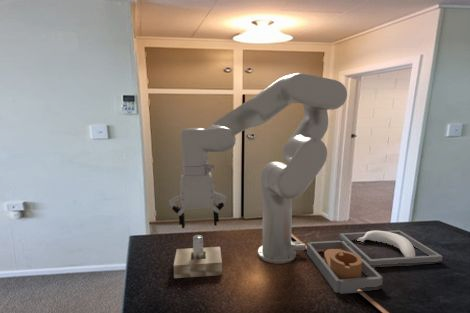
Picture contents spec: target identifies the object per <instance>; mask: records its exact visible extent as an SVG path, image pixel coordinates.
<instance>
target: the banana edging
mask: <svg viewBox="0 0 470 313" xmlns="http://www.w3.org/2000/svg"><path fill="white" fill-rule="evenodd" d="M385 231H386V232H391V233H395V234H398V235H401V236H403V237H405V238H406V239H408V240H409V241H410V242H411V244H412V245H413V246H414V247H416V248H418V249H420V250H421V251H423V252H424V253H426V254H428V255H429V256H426V255H418V256H417V255H415V256H414V257H405V256H401V257H386V258H385V257H384V258H371V257H370V256H368V254H366V253H365V252H364V251H363V250H361V248H359V247H358V246H357V245H356V244H355V243H353V241H352V240H349V239H348V238H361V237H363V236H364V235H365V234H366V233H367V232H368V231H363V232H362V231H361V232H346V233H344V232H342V233H339V234H338V235H339V236H338V238H339V237H340V238H341V239H342V240H343V241H344V242H345V243H346V244H348V245H349V246H350V247H351V248H352V249H353V250H354V251H355V252H356V253H357V254H358V255H359V256H360V257H362V258H363V259H364V260H365V261H366V262H367V263H368V264H369V265H382V264H398V263H418V262H438V261H442V262H443V256H442V255H441V254H439V253H438V252H436V251H435V250H433V249H432V248H429V247H428V246H426V245H424V244H423V243H422V242H420V241H418V240H417V239H415V238H413V237H412V236H410V235H409V234H407V233H405V232H403V231H401V230H397V229H396V230H385Z"/></svg>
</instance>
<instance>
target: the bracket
mask: <svg viewBox="0 0 470 313" xmlns="http://www.w3.org/2000/svg"><path fill="white" fill-rule="evenodd" d="M324 259H325V262H326V264H327V265H328V266H329V267H330V269H331V270H332V271H333V272H334V274H335V275H336V276H337V277H338V279H352V278H362V272H361V270H362V259H361V257H359V256H358V255H356V254H354V253H352V252H348V251H344V250H341V249H327V250H326V251H325V252H323V260H324Z"/></svg>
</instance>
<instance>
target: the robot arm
mask: <svg viewBox="0 0 470 313" xmlns="http://www.w3.org/2000/svg"><path fill="white" fill-rule="evenodd" d="M347 97H348V90H347V87H346V86H345V85H344V84H343V83H342V82H341V81H339V80H336V79H331V78H328V77H322V76H317V75H313V74H309V73H303V72H296V73H291V74H288V75H284V76H282V77H279V79H277V80H275V81H274V82H272V83H271V84H270V85H268V86H267V87H266V88H264V89H263V90H261V91H260V92H258V93H257V94H256V95H254V96H252V97H251V98H250V99H248V100H247V101H245V102H243V103H241V104H240V105H239V106H237V107H235V109H233V110H231V111H229V112H227V113H226V114H224V115H223V116H222V117H220V118H219V119H217V120H216V121H215V122H213V123H212V124H210V125H209V126H208V127H207V128H204V127H203V128H202V127H189V128H184V129H182V130H181V131H180V143H181V155H182V157H181V159H182V172H183V174H181V176H180V185H179V191H180V193H179V194H177V195H176V196H174V197H172V198H171V199H169V200H168V204H169V206H170V207H171V210H172V211H173V212H174V213H175V214H177V216H178V218H179V219H178V222H179V225H181V228H182V229H184V228H185V226H186V219H185V218H186V217H185V211H186V210H195V209H207V208H211V209H212V211H213V212H212V213H213V225H214V227H215V226H218V225H217V223H219V222H220V221H219V219H220V218H219V212H220V211H221V210H222V208H224V206H225V204H226V202H227V200H228V198H227V197H228V196H226V195H224V194H222V193H220V192H217V191H215V183H214V178H213V173H212V172H211V171H214V169H215V168H214V167H215V166H214V165H213V164H210V161H209V153H226V152H229V151H231V150H232V149H233V148H234V146H235V145H236V141H237V140H236V139H237V138H236V136H237V135H238V134H240V133H242V132H243V131H246V130H249V129H252V128H255V127H259V126H261V125H263V124H266V123H267V122H268V121H270V120H271V119H272V118H274V117H275V116H277V115H279V113H281V112H282V111H284V110H285V109H286V108H288V107H289V106H290V105H292V104H303V110H304V112H303V118H302V120H301V122H300V123H299V125H298V126H297V128H296V129H295V130H294V132H293V133H292V134H291V136H290V137H289V139H288V140H287V141H286V142H285V144H284V146H283V148H282V155H283V158H285V160H286V161H287V162H288V164H287V163H284V162H281V161H270V162H268V163H267V164H265V166H264V167H263V168H262V170H261V173H260V185H261V191H262V194H261V195H262V239H261V240H262V244H261V245H260V246H259V247H258V249H257V256H258V257H259V258H260V259H261V260H262V261H264V262H267V263H270V264H276V265H277V264H278V265H279V264H287V263H291V262H292V261H293V260H295V258H296V254H297V253H296V252H297V251H303V250H305V251H306V250H307V246H306V244H305V243H300V242H299V241H298V240H297V241H293V240H292V225H293V224H292V221H293V219H292V218H293V200H294V199H296V198H300V196H302V195H303V194H304V192H305V191H307V189H308V188H309V186H310V185H311V184H312V183H313V181H314V179H315V178H316V177H317V176H318V174H319V172H320V171H321V170H322V169H323V167H324V165H325V163H326V161H327V158H328V148H327V146H326V144H325V142H323V141H322V139H323V138H324V136H325V134H326V133H327V131H328V128H329V115H328V110H330V111H332V110H338V109H339V108H340V107H342V106H343V105H344V104H345V103H346V101H347ZM216 198H217V199H220V201H219V203H218V204H216ZM178 201H180V207H179V206H178V205H176V202H178Z"/></svg>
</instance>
